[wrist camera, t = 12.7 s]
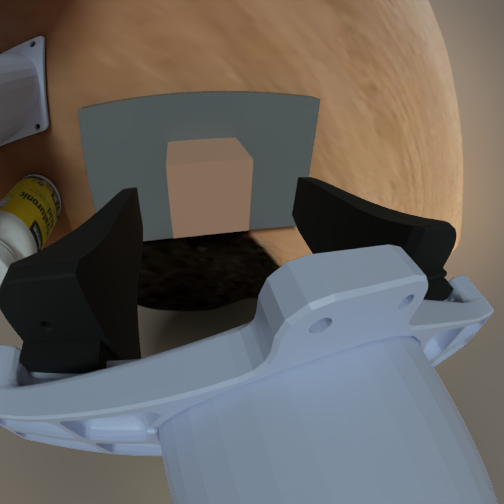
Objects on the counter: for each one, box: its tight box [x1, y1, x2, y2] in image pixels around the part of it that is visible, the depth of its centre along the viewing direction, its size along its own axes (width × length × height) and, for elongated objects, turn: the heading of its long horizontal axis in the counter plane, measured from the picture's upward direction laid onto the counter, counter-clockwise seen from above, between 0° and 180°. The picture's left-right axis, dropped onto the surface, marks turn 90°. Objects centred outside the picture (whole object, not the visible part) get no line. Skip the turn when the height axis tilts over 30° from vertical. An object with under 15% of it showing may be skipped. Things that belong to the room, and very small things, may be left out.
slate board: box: [78, 91, 320, 241], centre depth 20 cm, size 18×12×1 cm, turn 86°
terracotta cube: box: [166, 138, 253, 238], centre depth 18 cm, size 5×5×5 cm
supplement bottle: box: [0, 174, 61, 286], centre depth 14 cm, size 5×5×10 cm
